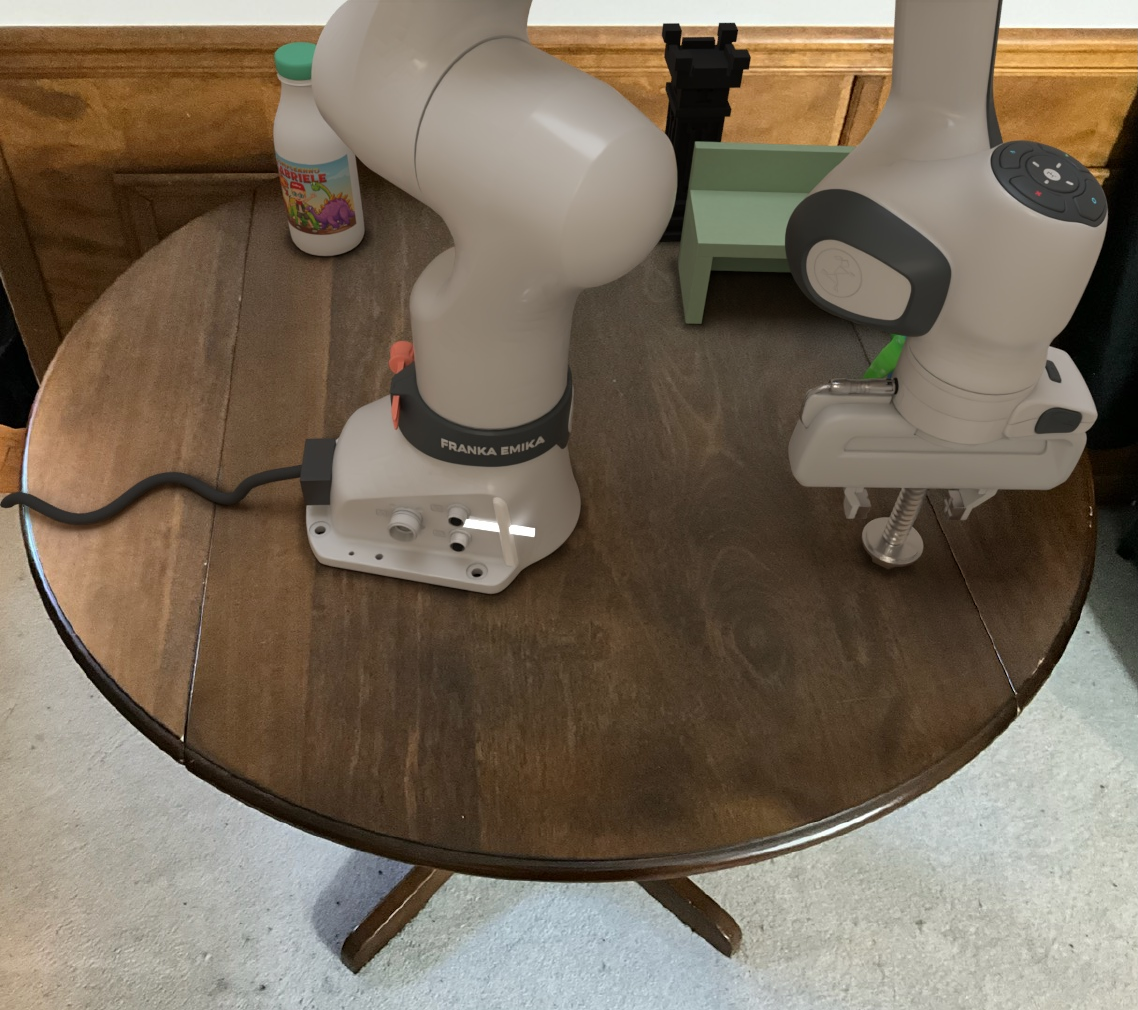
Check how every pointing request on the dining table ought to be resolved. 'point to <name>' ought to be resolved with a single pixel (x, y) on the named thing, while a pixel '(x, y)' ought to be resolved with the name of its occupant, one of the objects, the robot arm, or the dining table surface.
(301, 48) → the milk bottle
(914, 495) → the screw
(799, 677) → the dining table surface
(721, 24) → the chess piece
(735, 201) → the shelf
